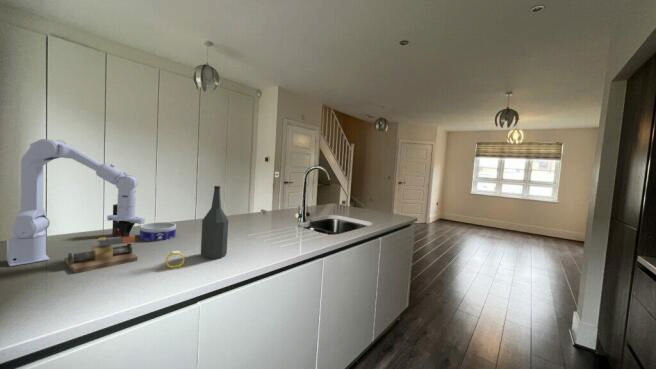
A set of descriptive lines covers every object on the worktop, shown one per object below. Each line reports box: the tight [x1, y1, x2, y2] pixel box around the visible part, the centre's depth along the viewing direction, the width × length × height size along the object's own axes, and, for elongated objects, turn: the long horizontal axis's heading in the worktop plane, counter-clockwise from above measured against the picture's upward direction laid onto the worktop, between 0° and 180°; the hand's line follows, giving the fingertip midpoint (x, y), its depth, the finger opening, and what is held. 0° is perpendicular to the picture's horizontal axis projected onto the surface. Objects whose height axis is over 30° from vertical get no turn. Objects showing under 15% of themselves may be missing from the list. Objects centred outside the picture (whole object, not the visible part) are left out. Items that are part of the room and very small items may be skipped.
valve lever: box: [97, 234, 136, 247], centre depth 105 cm, size 11×3×3 cm, turn 142°
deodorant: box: [112, 203, 121, 238], centre depth 134 cm, size 6×6×15 cm
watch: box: [165, 250, 185, 269], centre depth 102 cm, size 6×3×6 cm, turn 122°
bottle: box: [200, 185, 229, 260], centre depth 116 cm, size 10×10×30 cm
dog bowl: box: [139, 221, 177, 242], centre depth 137 cm, size 15×15×6 cm
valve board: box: [63, 243, 138, 274], centre depth 102 cm, size 18×14×6 cm
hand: (125, 239), depth 109 cm, fingers closed
